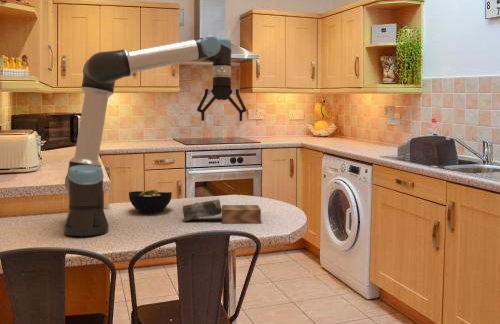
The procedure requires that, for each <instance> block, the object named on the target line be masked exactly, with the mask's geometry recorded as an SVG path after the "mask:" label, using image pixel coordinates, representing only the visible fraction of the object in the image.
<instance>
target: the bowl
mask: <svg viewBox="0 0 500 324" xmlns="http://www.w3.org/2000/svg"><path fill="white" fill-rule="evenodd" d="M172 194H173V192H171V191H169V192H168V191H166V192H165V191H163V192H162V191H160V192H159V191H158V190H156V189H150V190H148V189H144V190H143V191H142V190H140V191H137V190H136V191H129V192H128V198H129V201H130V203H131V205H132V206H133V207H134V208H135V210H137V212H138V213H139V214H143V215H154V214H156V215H157V214H159V213H162V212H163V211H164V210H165V208H167V207H168V205H169V204H170V202H171V200H172Z"/></svg>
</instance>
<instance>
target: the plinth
mask: <svg viewBox="0 0 500 324" xmlns="http://www.w3.org/2000/svg"><path fill="white" fill-rule="evenodd" d="M221 209H222V212H221V221H222V224H225V225H226V224H230V225H232V224H234V225H235V224H239V225H241V224H261V221H262V220H261V219H262V218H261V217H262V215H261V213H262V212H261V211H262V210H261V208H260V206H259V205H258V204H221Z"/></svg>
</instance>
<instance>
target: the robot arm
mask: <svg viewBox="0 0 500 324" xmlns="http://www.w3.org/2000/svg"><path fill="white" fill-rule="evenodd" d="M187 62H208V63H212V76H213V78H212V89H210V88H209V89H208V88H205V89H204V95H203V96H202V99H201V100H200V103H199V104H198V106H197V109H196V111H197V112H199V113H201V116H200V117H201V121H202V122H203V124H204V125H203V127H204V128H203V129H204V130H207V112H206V111H207V110H208V109H209V108H210V106H211V105H212V104H213V103H214V101H216V100H217V101H221V100H222V101H227V100H228V102H230V104H231V105H232V106H233V107H234V108H235V110H236V111H238V113H237V120H236V121H237V124H236V125H237V126H236V127H237V129H236V130H240V122H242V121H243V114H244V113H246V112H247V106H246V105H245V104H244V100H242V97H241V95H240V90H239V89H238V88H236V89H232V78H231V77H232V42H231V40H230V39H229V38H224V37H216V36H215V35H212V34H211V35H209V34H208V35H205V36H204V37H198V38H194V39H188V40H183V41H177V42H173V43H172V42H171V43H166V44H161V45H154V46H151V47H145V48H139V49H134V50H129V51H128V50H126V49H124V48H123V49H117V50H109V51H108V50H107V51H100V52H96V53H94V54H92V55H91V56H90V57H89V59H87V60H86V62H85V63H84V65H83V69H82V75H83V77H82V84H81V89H82V91H83V92H84V97H83V104H82V109H81V116H80V121H79V128H78V132H77V133H78V134H77V140H76V146H75V150H74V151H75V152H74V156H73V157H72V158H71V159H70V160H69V162H68V168H67V169H68V170H67V173H66V175H65V179H64V184H65V188H66V190H67V193H68V214H67V217H66V220H65V221H64V222H65V223H64V226H63V234H64V235H67V236H77V237H80V236H81V237H82V236H84V237H85V236H98V235H103V234H107V233H108V232H109V223H108V220H107V217H106V214H105V211H104V176H105V175H104V173H103V168H102V164H101V162H100V161H99V157H100V150H101V145H102V144H101V143H102V137H103V131H104V125H105V120H106V114H107V108H108V103H109V102H108V101H109V97H111V96H112V95H114V90H115V85H116V84H115V83H116V81H118V80H120V79H123V78H127V77H130V76H132V74H133V73H137V72H142V71H146V70H152V69H156V68H162V67H166V66H167V67H168V66H170V65H171V66H172V65H176V64H182V63H187ZM210 94H212V95H213V97H211V99H209V101H208V102H207V104H206V105H205V106H204V103H205V101H206V99H207V97H208V95H210ZM232 94H234V95H235V96H236V99H237V101H238V102H239V104H240V106H239V105H238V104H237V103H236V102H235V101H234V100H233V98H232V96H231V95H232ZM203 106H204V107H203ZM202 107H203V108H202ZM240 107H241V108H240Z"/></svg>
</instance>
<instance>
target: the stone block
mask: <svg viewBox="0 0 500 324" xmlns="http://www.w3.org/2000/svg"><path fill="white" fill-rule="evenodd" d="M182 214H183V219H184V223H186V222H191V221H192V220H193V221H194V220H196V219H199V218H205V217H215V216H218V215H222V204H221V201H220V199H214V200H208V201H201V202H195V203H193V204H186V205H182Z"/></svg>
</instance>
